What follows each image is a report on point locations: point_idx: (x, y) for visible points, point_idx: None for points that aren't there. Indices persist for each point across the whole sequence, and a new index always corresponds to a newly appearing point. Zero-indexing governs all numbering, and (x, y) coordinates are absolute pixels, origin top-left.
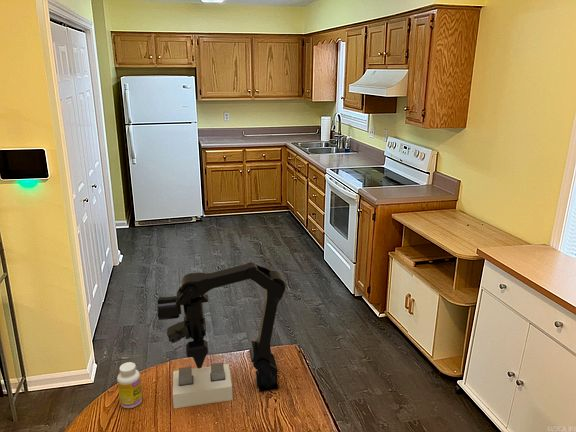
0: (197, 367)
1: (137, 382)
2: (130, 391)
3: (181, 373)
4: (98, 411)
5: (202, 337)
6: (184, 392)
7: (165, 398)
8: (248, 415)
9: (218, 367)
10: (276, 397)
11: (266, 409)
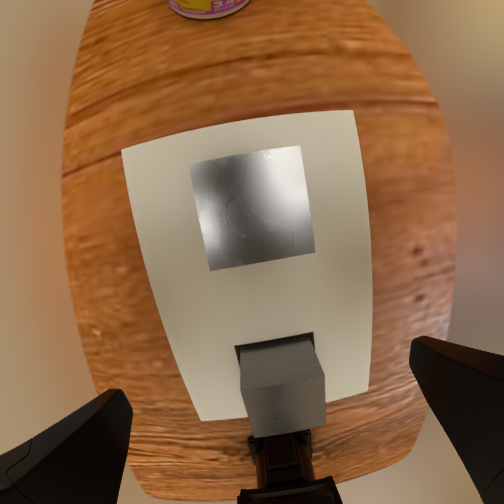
0: (103, 394)
1: None
2: None
3: (220, 181)
4: None
5: (479, 476)
6: (138, 214)
7: (221, 101)
8: (142, 411)
9: (278, 416)
10: (223, 461)
11: (174, 444)
